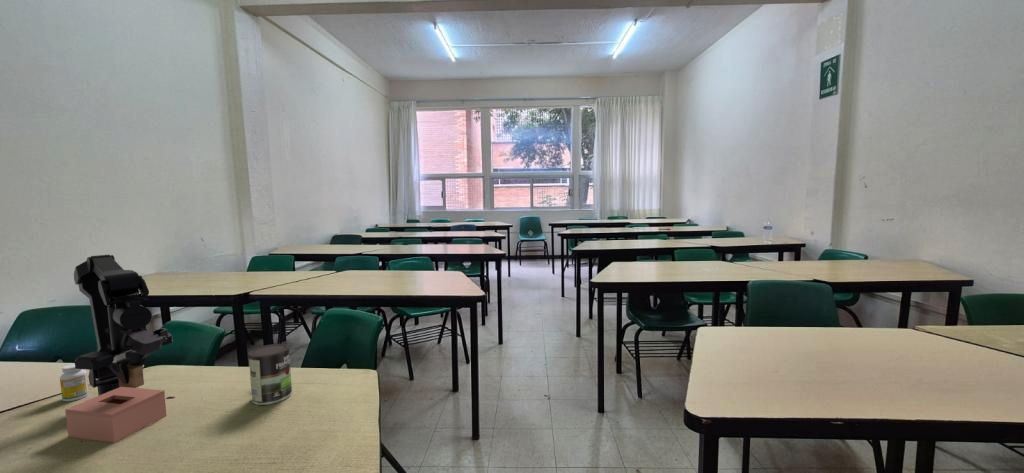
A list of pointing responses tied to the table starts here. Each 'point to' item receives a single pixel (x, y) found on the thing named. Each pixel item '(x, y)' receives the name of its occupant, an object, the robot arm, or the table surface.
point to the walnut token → (134, 377)
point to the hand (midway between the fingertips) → (130, 381)
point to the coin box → (115, 414)
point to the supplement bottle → (73, 383)
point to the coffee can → (270, 373)
